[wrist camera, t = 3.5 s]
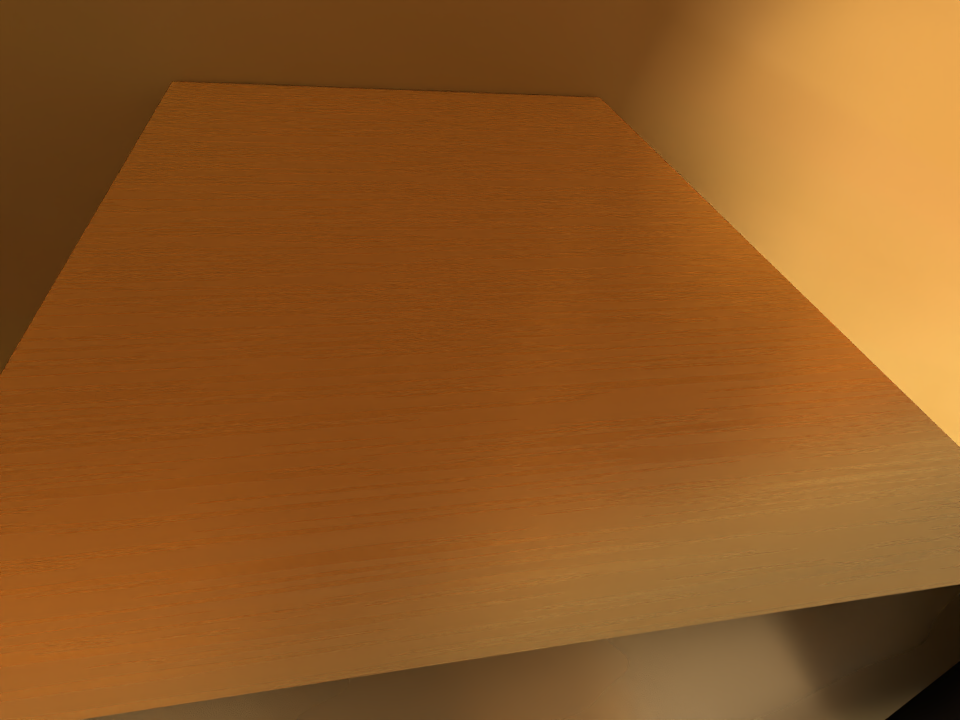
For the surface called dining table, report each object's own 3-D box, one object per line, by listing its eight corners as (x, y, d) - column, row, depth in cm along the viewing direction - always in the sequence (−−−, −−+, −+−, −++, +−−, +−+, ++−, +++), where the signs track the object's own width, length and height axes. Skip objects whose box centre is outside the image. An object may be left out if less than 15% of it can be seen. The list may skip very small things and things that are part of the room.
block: (538, 389, 13) (717, 850, 7) (241, 408, 12) (161, 983, 6) (599, 97, 9) (1080, 565, 3) (172, 81, 8) (-231, 767, 2)
